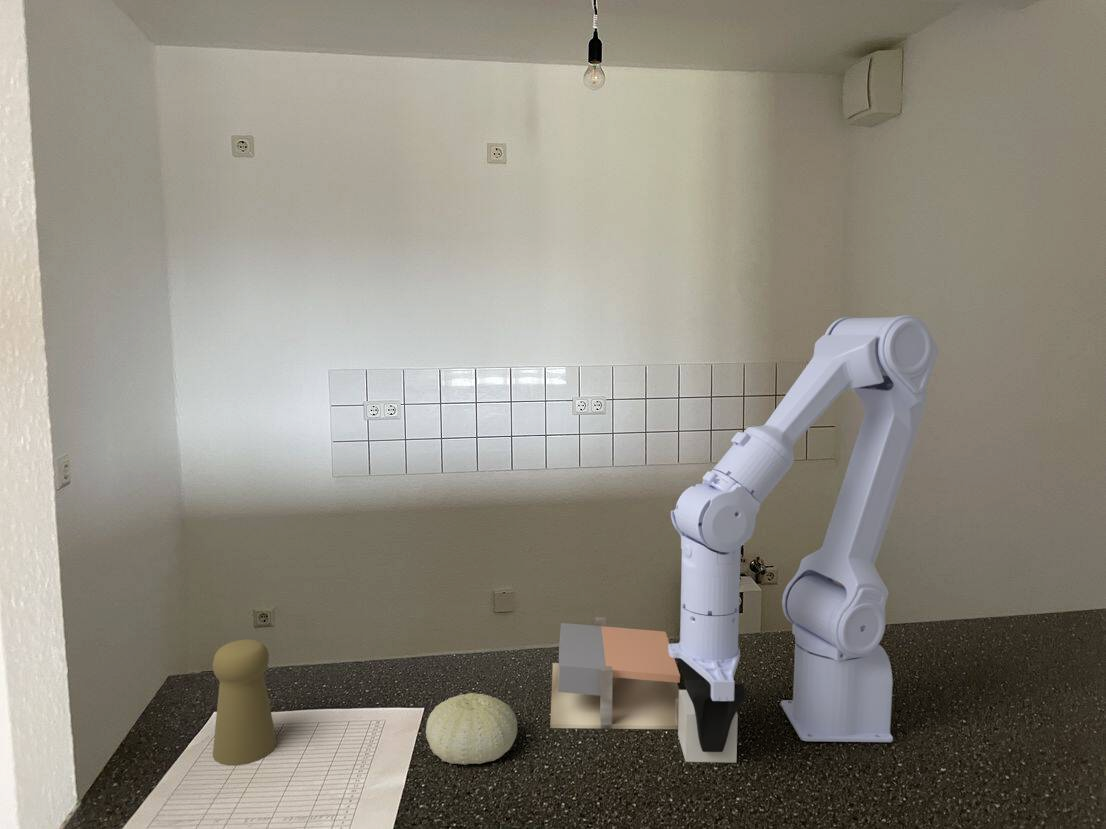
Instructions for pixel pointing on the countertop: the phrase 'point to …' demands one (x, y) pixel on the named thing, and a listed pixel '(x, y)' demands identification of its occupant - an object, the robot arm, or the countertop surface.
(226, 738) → the cork
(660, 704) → the frame
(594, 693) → the trapdoor
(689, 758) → the off-white sharp-edged cube
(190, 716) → the countertop surface
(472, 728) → the sea urchin shell
